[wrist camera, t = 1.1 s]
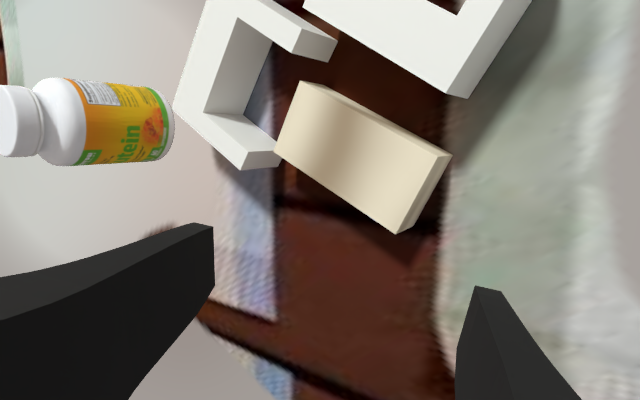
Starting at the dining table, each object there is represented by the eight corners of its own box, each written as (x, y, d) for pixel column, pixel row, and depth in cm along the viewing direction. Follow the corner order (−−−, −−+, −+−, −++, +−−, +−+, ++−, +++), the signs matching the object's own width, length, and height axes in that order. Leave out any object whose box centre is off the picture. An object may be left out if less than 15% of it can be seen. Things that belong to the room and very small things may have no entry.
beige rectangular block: (454, 154, 20) (437, 156, 18) (415, 225, 21) (395, 234, 19) (327, 85, 23) (299, 80, 21) (301, 150, 25) (273, 151, 23)
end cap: (338, 41, 22) (301, 28, 19) (277, 166, 25) (240, 170, 23) (257, -10, 24) (215, -27, 22) (212, 111, 28) (171, 108, 25)
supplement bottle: (159, 175, 32) (10, 189, 24) (124, 129, 33) (-26, 128, 26) (187, 119, 29) (30, 113, 21) (147, 72, 31) (-11, 51, 23)
